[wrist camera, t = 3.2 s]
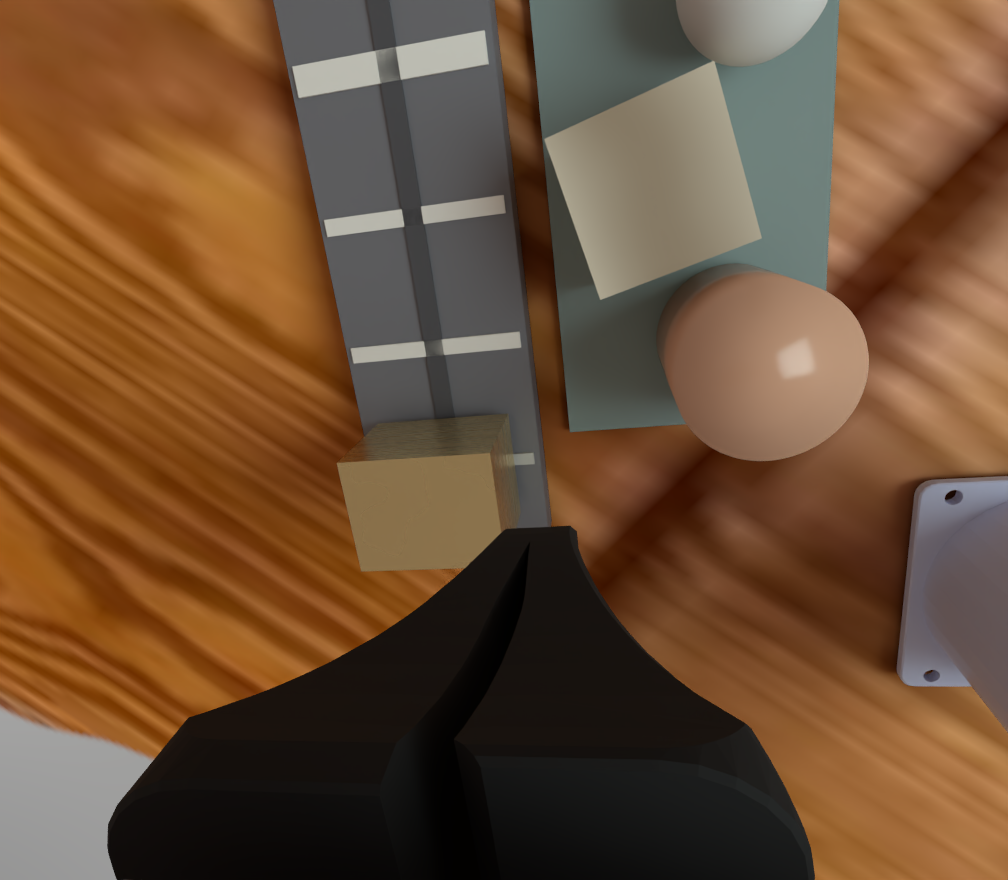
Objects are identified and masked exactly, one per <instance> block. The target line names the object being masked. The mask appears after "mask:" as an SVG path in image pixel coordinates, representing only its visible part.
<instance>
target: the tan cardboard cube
mask: <svg viewBox="0 0 1008 880" xmlns="http://www.w3.org/2000/svg"><path fill="white" fill-rule="evenodd" d="M337 467H338V471H339V476H340V480H341V485H342V489H343V493H344V498H345V502H346V506H347V511H348V515H349V520H350V524H351V528H352V533H353V537H354V542H355V546H356V550H357V555H358V559H359V563H360V568H361V571H391V570H423V569H455V568H466V567H467V566H468V565H469V564H470V563H471V562H472V561H473V560H474V559H475V558H476V557H477V556H478V555H479V554H480V553H481V552H482V551H483V550H484V549H485V548H486V547H487V546H488V545H489V544H490V543H491V542H492V541H493V540H494V539H495V538H496V537H497V536H498V535H499V534H500V533H502V532H503V531H504V530H505V529H512V528H517V524H518V520H519V516H520V513H521V511H520V503H519V495H518V487H517V479H516V471H515V463H514V456H513V448H512V440H511V432H510V424H509V416H508V414H497V415H483V416H470V417H457V418H444V419H431V420H418V421H404V422H391V423H378V424H377V425H376V426H375V427H374V428H373V429H372V430H371V431H370V432H369V433H368V434H367V435H366V436H365V437H363V438H362V439H361V440H360V441H359V442H358V443H357V444H356V445H355V446H354V447H353V448H352V449H351V450H350V451H349V452H348V453H347V454H346V455H345V456H343V457H342V458H341V459H340V460H339V461H338V462H337Z"/></svg>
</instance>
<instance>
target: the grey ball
mask: <svg viewBox="0 0 1008 880" xmlns="http://www.w3.org/2000/svg"><path fill="white" fill-rule="evenodd" d="M827 2H828V0H676V8H677V12H678V17H679V20H680V23H681V26H682V29H683V31H684V33H685V34H686V36H687V38H688V40H689V41H690V42H691V44H692V45H693V46H694V47H695V48H696V49H697V50H698V52H700V53H701V54H702V55H704V56H705V57H706V58H708V59H710V60H712V61H715V62H716V63H719V64H722V65H727V66H736V67H744V66H753V65H757V64H761V63H764V62H766V61H769V60H771V59H773V58H775V57H777V56H779V55H781V54H782V53H784V52H785V51H787V50H788V49H790V48H791V47H793V46H794V45H795V44H796V43H797V42H798V41H799V40H801V39H802V37H803V36H804V35H805V34H806V33H807V32H808V31H809V30H810V29H811V27H812V26H813V25H814V23H815V22H816V21H817V19H818V18H819V16H820V15H821V13H822V11H823V10H824V8H825V6H826V4H827Z"/></svg>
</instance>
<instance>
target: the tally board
mask: <svg viewBox="0 0 1008 880" xmlns="http://www.w3.org/2000/svg"><path fill="white" fill-rule="evenodd" d="M273 2H274V7H275V12H276V16H277V21H278V26H279V31H280V36H281V40H282V45H283V50H284V55H285V59H286V64H287V69H288V74H289V79H290V83H291V88H292V93H293V98H294V102H295V107H296V112H297V117H298V122H299V126H300V131H301V136H302V141H303V146H304V150H305V155H306V160H307V165H308V169H309V174H310V179H311V184H312V189H313V193H314V198H315V203H316V208H317V212H318V217H319V222H320V227H321V232H322V236H323V241H324V246H325V251H326V255H327V260H328V265H329V270H330V275H331V279H332V284H333V289H334V294H335V299H336V303H337V308H338V313H339V318H340V322H341V327H342V332H343V337H344V342H345V346H346V351H347V356H348V361H349V365H350V370H351V375H352V380H353V385H354V389H355V394H356V399H357V404H358V409H359V413H360V418H361V423H362V428H363V432H364V437H365V436H366V435H367V434H368V433H369V432H370V431H371V430H372V429H373V428H374V427H375V426H376V425H377V424H378V423H391V422H404V421H418V420H431V419H444V418H457V417H470V416H483V415H497V414H508V416H509V424H510V432H511V440H512V448H513V456H514V463H515V471H516V479H517V487H518V495H519V503H520V511H521V513H520V516H519V520H518V524H517V528H534V527H551V521H552V520H551V511H550V502H549V493H548V484H547V475H546V466H545V457H544V447H543V438H542V429H541V420H540V411H539V402H538V393H537V384H536V374H535V365H534V356H533V347H532V338H531V329H530V320H529V311H528V302H527V292H526V283H525V274H524V265H523V256H522V247H521V238H520V229H519V220H518V210H517V201H516V192H515V183H514V174H513V165H512V156H511V147H510V137H509V128H508V119H507V110H506V101H505V92H504V83H503V74H502V65H501V55H500V46H499V37H498V28H497V19H496V10H495V1H494V0H273Z"/></svg>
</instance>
